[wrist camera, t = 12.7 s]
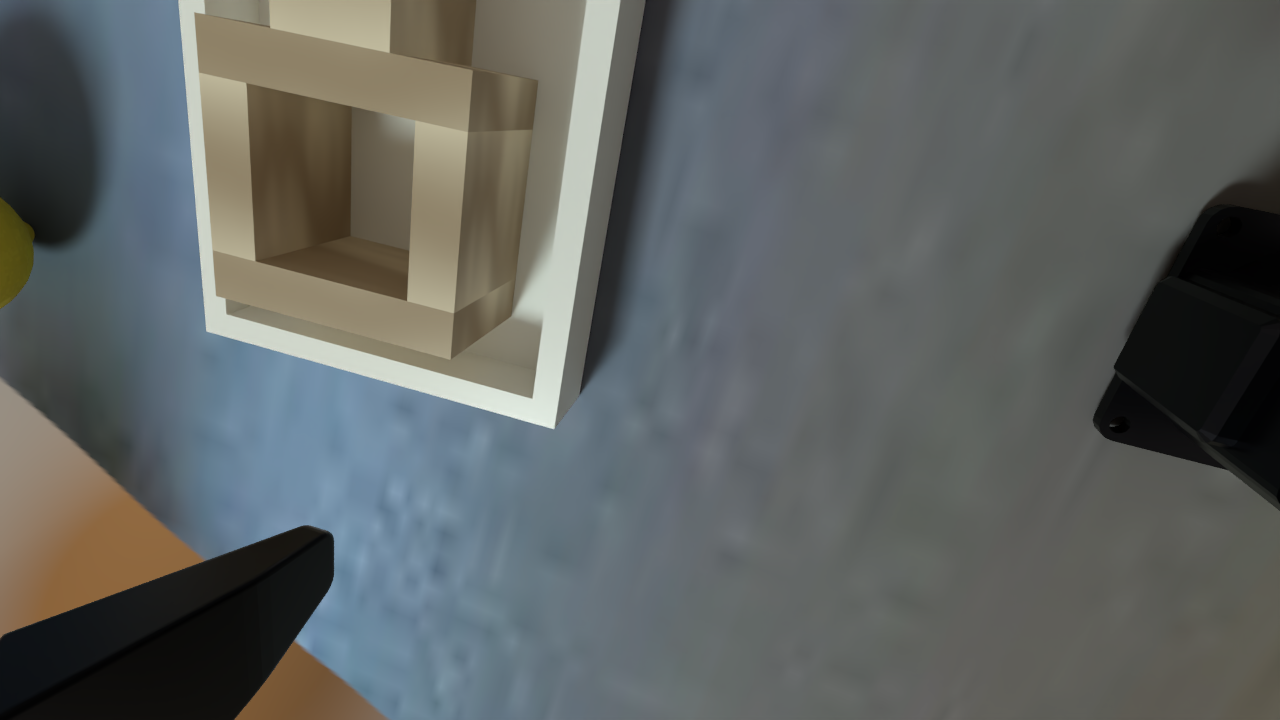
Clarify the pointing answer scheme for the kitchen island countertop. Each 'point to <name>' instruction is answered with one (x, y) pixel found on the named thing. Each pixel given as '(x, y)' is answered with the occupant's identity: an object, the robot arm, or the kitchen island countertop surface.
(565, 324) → the tray
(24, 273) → the lemon
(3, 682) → the robot arm
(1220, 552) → the kitchen island countertop surface
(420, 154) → the birch collar
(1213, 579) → the kitchen island countertop surface
